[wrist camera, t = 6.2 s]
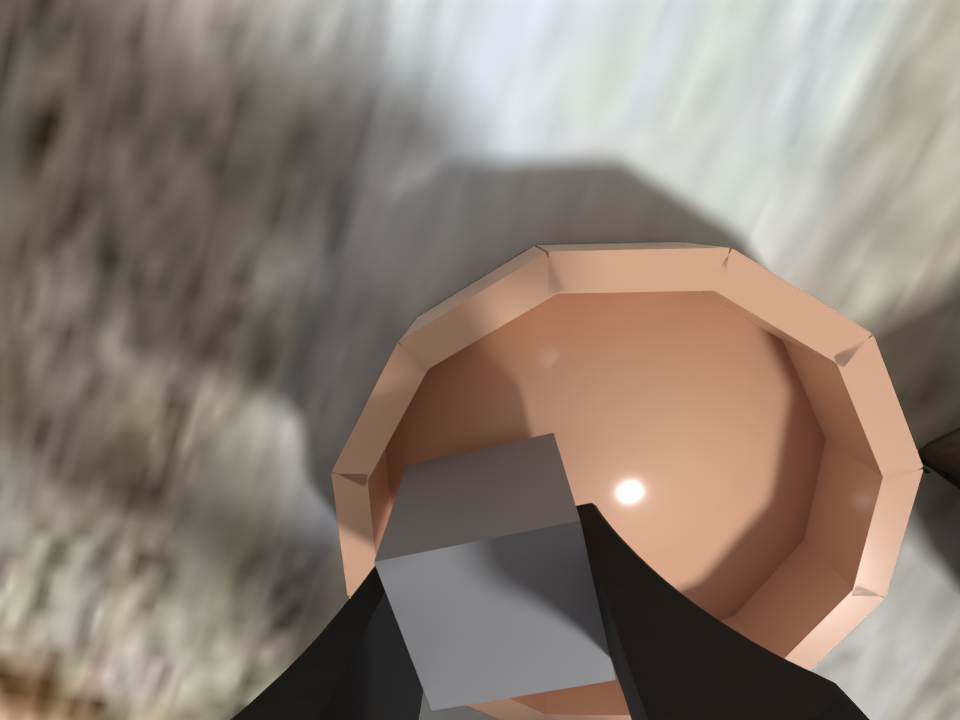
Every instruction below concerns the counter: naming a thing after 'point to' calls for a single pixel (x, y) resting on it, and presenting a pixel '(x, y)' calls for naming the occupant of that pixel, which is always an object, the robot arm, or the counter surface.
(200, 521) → the counter surface
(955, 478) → the juice carton
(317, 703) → the robot arm
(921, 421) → the counter surface
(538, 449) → the grey cube
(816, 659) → the bowl
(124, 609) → the counter surface
